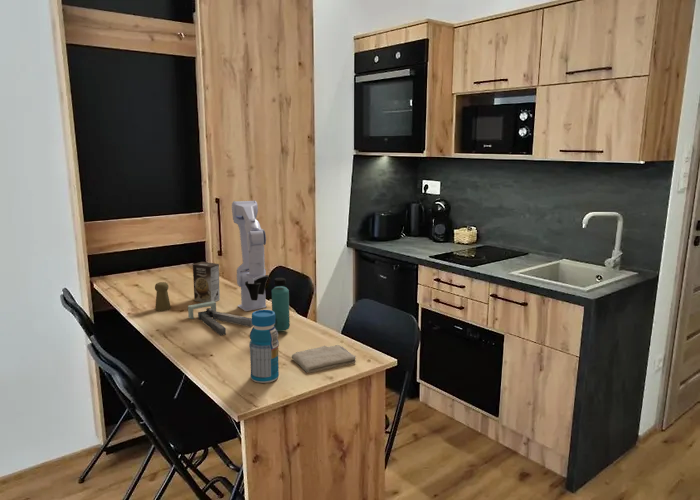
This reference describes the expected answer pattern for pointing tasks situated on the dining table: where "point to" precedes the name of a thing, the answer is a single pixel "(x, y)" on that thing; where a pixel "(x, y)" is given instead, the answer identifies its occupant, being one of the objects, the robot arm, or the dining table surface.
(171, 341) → the dining table surface
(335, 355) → the washcloth
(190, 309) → the pale green notched block
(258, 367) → the beverage bottle
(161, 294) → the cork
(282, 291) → the beverage bottle
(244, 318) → the tong arm
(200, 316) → the tong base
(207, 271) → the coffee box
